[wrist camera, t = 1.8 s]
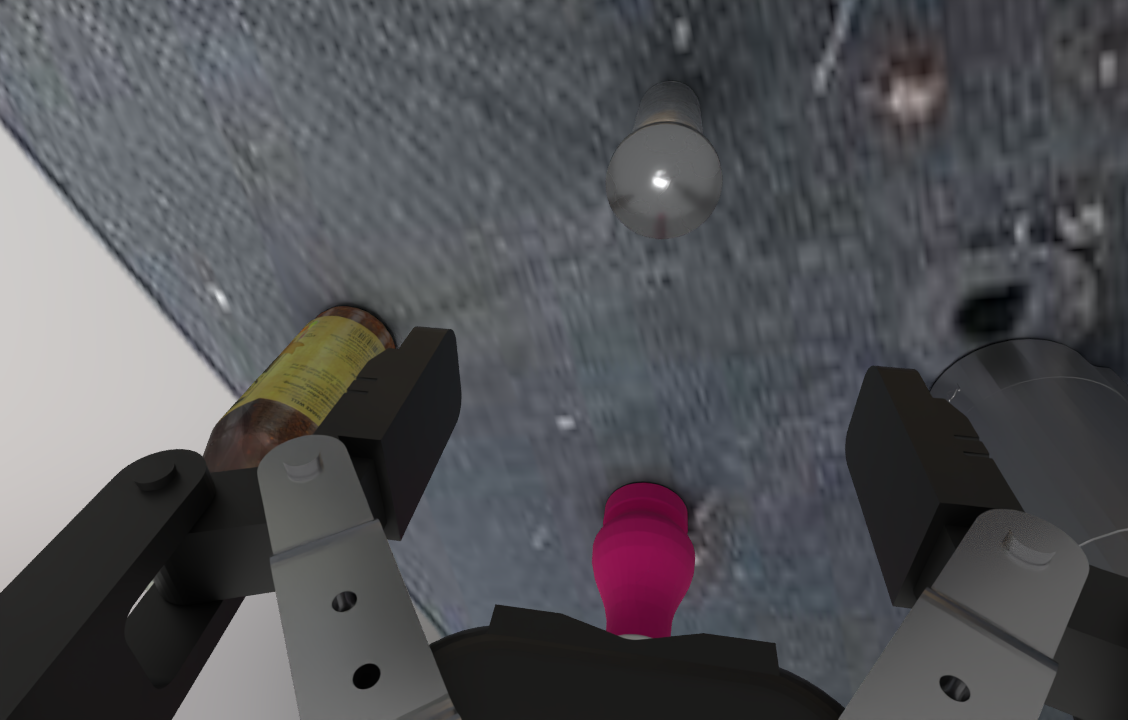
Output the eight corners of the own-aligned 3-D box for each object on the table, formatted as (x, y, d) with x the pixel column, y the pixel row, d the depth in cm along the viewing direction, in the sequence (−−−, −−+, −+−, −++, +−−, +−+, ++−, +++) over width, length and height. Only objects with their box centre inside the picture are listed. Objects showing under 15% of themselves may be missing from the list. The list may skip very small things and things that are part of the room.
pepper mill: (709, 495, 47) (724, 794, 30) (672, 555, 51) (667, 848, 34) (617, 464, 47) (581, 748, 30) (587, 526, 51) (540, 808, 34)
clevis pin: (715, 71, 32) (730, 127, 22) (704, 156, 34) (713, 242, 24) (631, 68, 32) (608, 122, 22) (626, 152, 35) (603, 235, 25)
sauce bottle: (309, 294, 43) (75, 510, 26) (399, 309, 42) (218, 540, 26) (319, 373, 46) (119, 607, 30) (402, 388, 46) (245, 634, 30)
